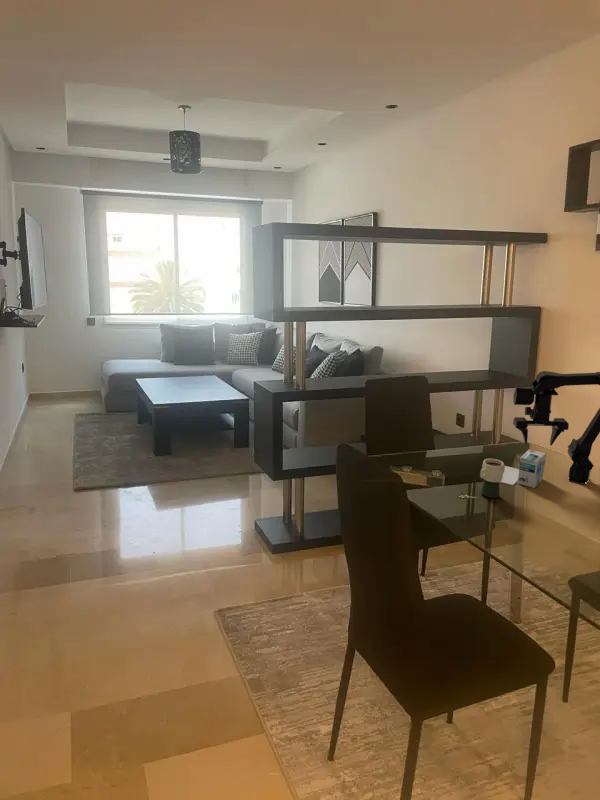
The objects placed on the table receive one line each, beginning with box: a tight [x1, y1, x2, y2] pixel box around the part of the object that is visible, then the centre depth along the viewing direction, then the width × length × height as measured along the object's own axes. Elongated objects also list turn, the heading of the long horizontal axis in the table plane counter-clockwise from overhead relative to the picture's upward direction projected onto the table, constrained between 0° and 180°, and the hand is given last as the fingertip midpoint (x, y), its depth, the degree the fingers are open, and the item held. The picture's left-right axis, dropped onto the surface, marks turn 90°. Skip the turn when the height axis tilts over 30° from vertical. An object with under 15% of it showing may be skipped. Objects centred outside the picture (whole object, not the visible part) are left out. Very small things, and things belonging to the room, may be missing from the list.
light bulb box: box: [516, 449, 547, 489], centre depth 226 cm, size 11×7×11 cm, turn 143°
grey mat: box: [499, 465, 519, 487], centre depth 233 cm, size 12×16×1 cm
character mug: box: [479, 458, 506, 499], centre depth 213 cm, size 11×7×13 cm, turn 116°
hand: (538, 444), depth 227 cm, fingers open, 9 cm apart
